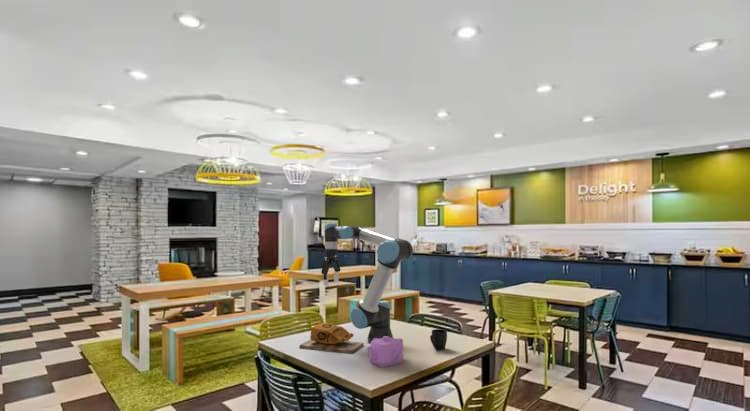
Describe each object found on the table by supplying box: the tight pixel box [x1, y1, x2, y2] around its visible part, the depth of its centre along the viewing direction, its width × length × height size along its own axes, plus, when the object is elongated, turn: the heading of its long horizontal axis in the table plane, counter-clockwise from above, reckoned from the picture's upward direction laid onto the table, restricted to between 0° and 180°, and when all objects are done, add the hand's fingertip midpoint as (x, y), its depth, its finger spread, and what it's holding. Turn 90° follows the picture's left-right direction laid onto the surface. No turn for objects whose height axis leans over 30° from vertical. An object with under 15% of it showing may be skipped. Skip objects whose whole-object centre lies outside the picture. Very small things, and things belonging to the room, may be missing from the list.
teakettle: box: [366, 336, 404, 368], centre depth 200 cm, size 17×17×12 cm
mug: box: [429, 328, 448, 351], centre depth 219 cm, size 8×12×10 cm
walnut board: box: [299, 339, 365, 355], centre depth 227 cm, size 32×16×2 cm, turn 68°
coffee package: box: [309, 322, 354, 344], centre depth 229 cm, size 10×12×22 cm
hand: (331, 283), depth 246 cm, fingers open, 13 cm apart
